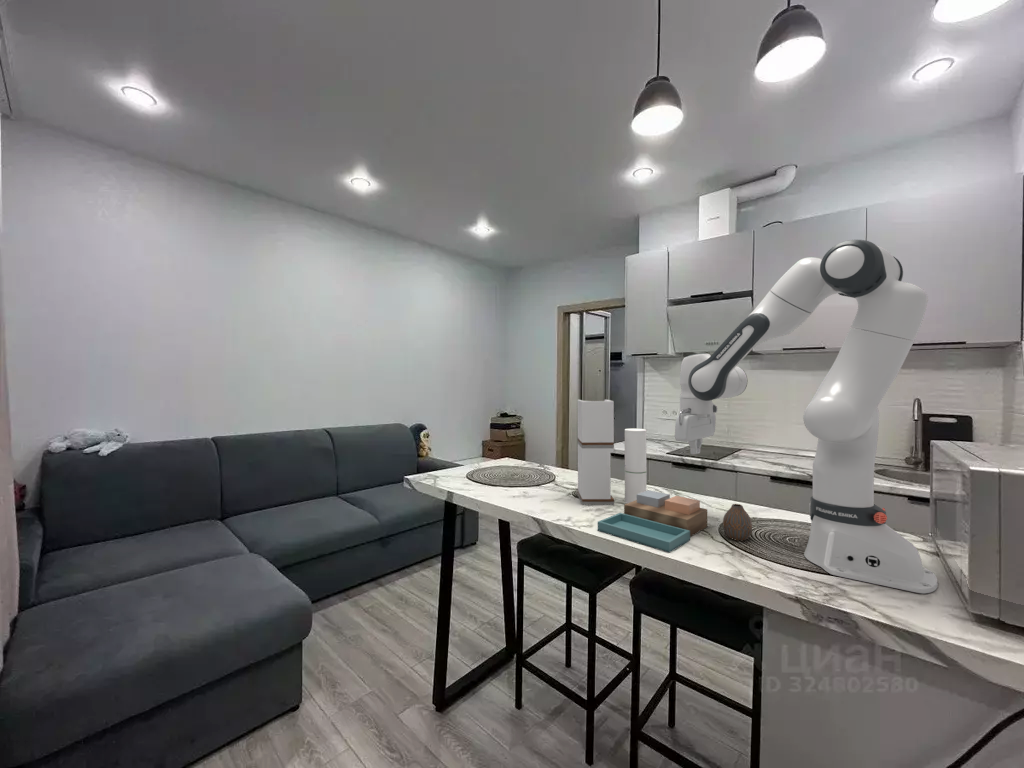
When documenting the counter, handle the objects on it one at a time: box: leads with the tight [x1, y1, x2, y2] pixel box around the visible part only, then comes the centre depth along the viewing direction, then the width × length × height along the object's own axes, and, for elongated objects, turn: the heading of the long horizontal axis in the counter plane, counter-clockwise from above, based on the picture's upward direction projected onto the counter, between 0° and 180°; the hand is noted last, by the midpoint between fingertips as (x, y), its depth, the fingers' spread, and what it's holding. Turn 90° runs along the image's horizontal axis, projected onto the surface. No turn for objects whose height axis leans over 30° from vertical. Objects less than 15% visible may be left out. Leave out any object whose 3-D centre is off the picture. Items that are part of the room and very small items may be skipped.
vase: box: [722, 503, 753, 541], centre depth 112 cm, size 7×7×9 cm
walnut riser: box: [623, 500, 708, 538], centre depth 123 cm, size 19×13×5 cm
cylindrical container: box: [624, 427, 647, 504], centre depth 145 cm, size 7×7×25 cm
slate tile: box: [637, 489, 671, 508], centre depth 127 cm, size 7×7×2 cm
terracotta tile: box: [665, 495, 701, 515], centre depth 121 cm, size 7×7×2 cm
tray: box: [597, 512, 691, 553], centre depth 114 cm, size 21×12×2 cm, turn 43°
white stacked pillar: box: [577, 399, 615, 506], centre depth 147 cm, size 11×11×35 cm
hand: (695, 453), depth 127 cm, fingers closed
